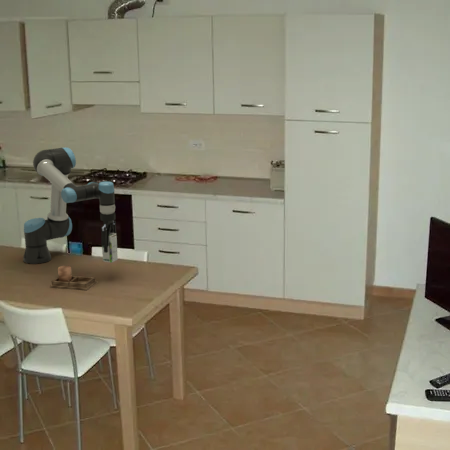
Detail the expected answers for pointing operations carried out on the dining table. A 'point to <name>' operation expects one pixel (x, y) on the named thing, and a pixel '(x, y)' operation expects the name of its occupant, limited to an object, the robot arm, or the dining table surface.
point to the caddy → (71, 280)
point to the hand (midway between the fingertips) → (109, 255)
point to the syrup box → (111, 248)
